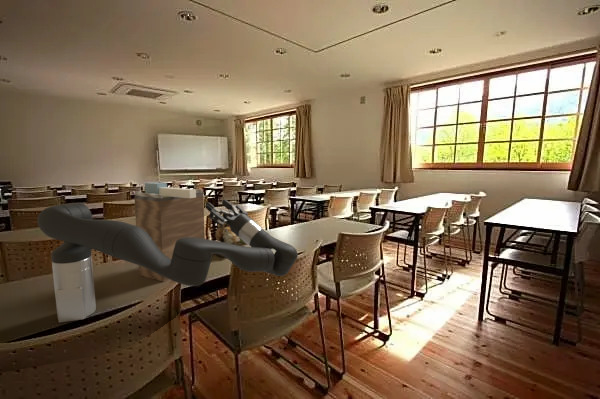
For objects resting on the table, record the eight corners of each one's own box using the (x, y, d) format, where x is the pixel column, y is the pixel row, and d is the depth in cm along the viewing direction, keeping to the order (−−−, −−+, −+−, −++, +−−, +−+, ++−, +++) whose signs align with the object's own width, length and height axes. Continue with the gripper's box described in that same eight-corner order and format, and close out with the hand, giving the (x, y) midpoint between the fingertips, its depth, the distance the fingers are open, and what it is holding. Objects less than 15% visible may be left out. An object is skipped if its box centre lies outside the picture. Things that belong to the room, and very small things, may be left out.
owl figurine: (207, 250, 150) (206, 217, 148) (228, 246, 158) (228, 215, 156) (222, 260, 137) (221, 224, 134) (245, 255, 144) (245, 221, 142)
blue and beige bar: (197, 197, 111) (197, 185, 110) (188, 198, 107) (187, 186, 106) (155, 193, 120) (154, 182, 120) (145, 194, 116) (144, 183, 116)
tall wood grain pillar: (205, 263, 132) (203, 189, 127) (163, 281, 112) (159, 195, 107) (182, 258, 137) (179, 188, 133) (139, 275, 118) (134, 192, 113)
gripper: (263, 217, 106) (231, 192, 111) (238, 225, 93) (204, 196, 98) (254, 233, 108) (224, 208, 113) (229, 243, 95) (196, 214, 100)
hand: (215, 202), depth 105 cm, fingers open, 8 cm apart
